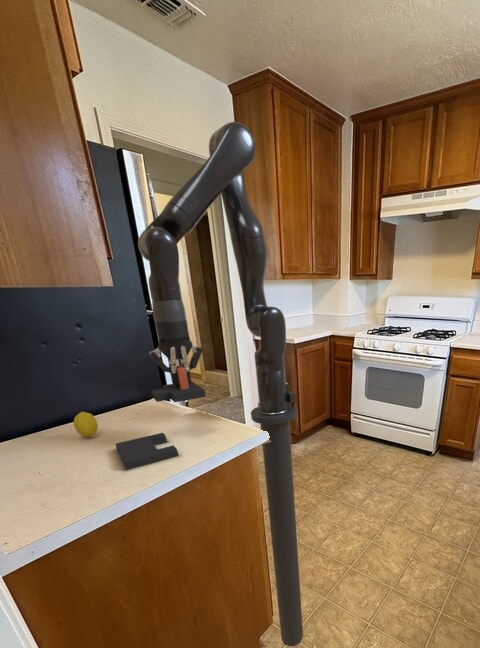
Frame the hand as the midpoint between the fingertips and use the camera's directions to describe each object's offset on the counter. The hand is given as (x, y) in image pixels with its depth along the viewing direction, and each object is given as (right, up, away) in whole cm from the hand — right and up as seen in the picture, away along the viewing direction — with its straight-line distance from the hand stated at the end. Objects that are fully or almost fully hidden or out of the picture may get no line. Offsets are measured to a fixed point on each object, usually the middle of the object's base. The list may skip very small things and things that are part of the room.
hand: (182, 385), depth 96 cm
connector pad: (-1, -3, 0) cm, 3 cm away
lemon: (-30, -14, +7) cm, 34 cm away
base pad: (-8, -18, -4) cm, 20 cm away
